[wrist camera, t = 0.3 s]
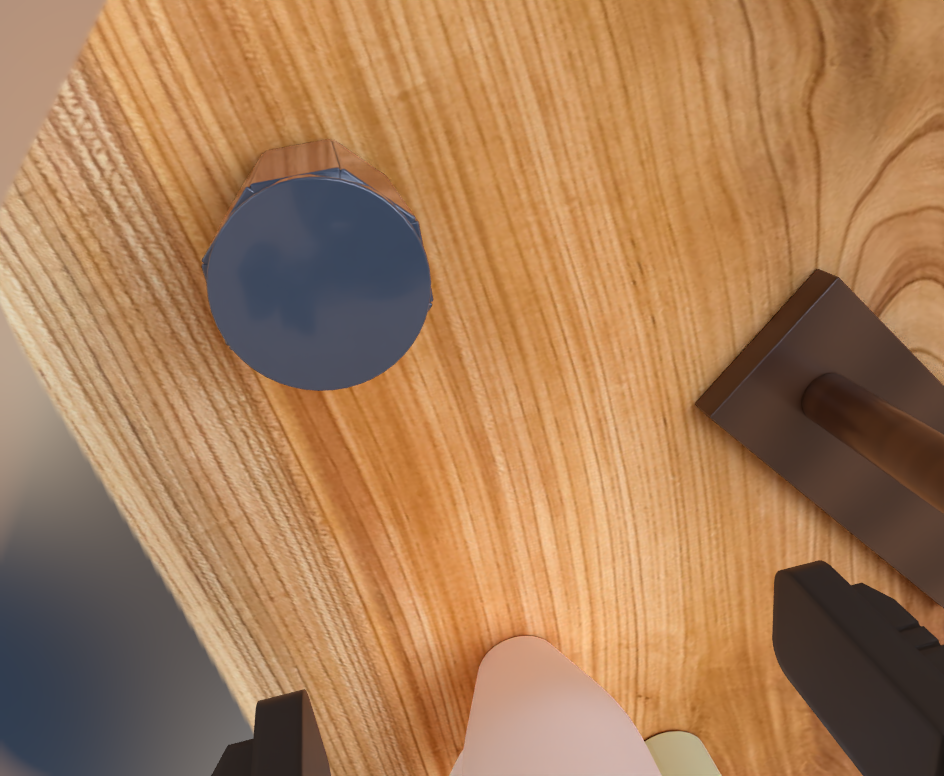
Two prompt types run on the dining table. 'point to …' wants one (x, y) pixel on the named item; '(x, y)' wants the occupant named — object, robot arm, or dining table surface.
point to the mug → (546, 719)
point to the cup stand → (845, 423)
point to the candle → (681, 755)
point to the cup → (318, 269)
